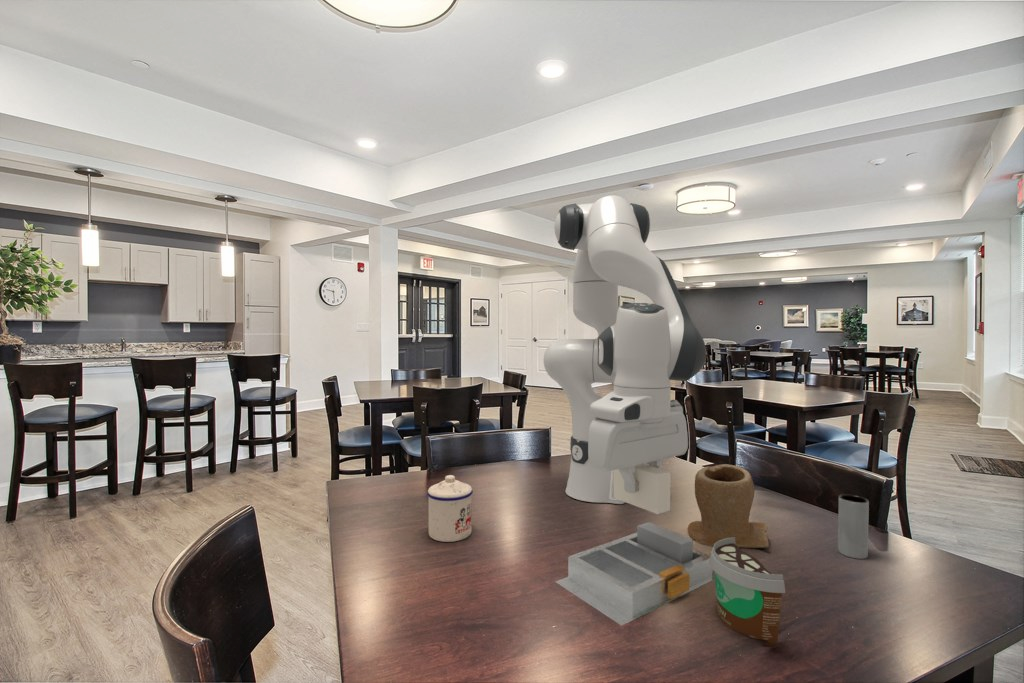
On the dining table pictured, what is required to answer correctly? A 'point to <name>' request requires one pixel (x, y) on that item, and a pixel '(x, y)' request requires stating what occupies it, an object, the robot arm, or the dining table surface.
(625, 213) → the robot arm
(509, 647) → the dining table surface
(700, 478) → the stone cup
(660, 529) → the gray rectangular block
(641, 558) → the rack
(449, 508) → the teacup with lid
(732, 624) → the food container
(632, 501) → the beige rectangular block
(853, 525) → the grey hollow cylinder
